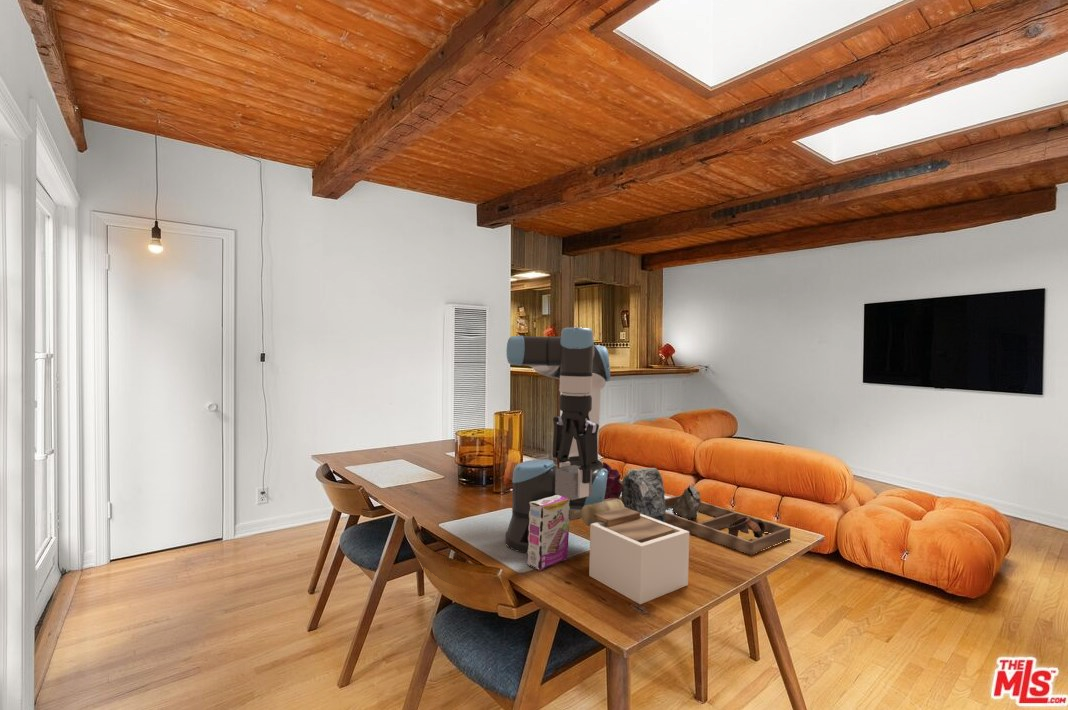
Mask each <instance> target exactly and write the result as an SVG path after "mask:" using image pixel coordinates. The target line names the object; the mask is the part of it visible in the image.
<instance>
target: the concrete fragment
mask: <svg viewBox="0 0 1068 710" xmlns="http://www.w3.org/2000/svg"><path fill="white" fill-rule="evenodd" d="M700 494H701V493H700V491H698V489H697V487H695V486H694V485H690V484H689V486H688V487H687V488H685V489H684V491H683V493H682V494H681V498H680V499H678V500H677V501H676V504H675V505H674V506H673V508H672V509H673V510H672V512H673V511H674V512H675V513H674V512H673V513H674V514H676V513H677V514H678V515H680V516H681V517H682V518H685V519H689V520H691V519H690V518H692V519H697V518H698V508H699V506H700V502H701V501H702V499H701V497H700V496H701V495H700ZM677 514H676V515H677ZM678 515H677V516H678ZM680 516H679V517H680Z"/></svg>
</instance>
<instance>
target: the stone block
mask: <svg viewBox="0 0 1068 710" xmlns="http://www.w3.org/2000/svg"><path fill="white" fill-rule="evenodd" d="M622 480H623V485H622V490H621V491H622V492H621V496H622V503H623V504H624V507H626V508H629V509H632V510H634V511H637V512H640V514H643V515H646V516H648V517H651V518H654V519H657V520H659V521H662V522H664V521H665V519H666V514H665V512H666V510H665V509H666V501H665V499H666V497H665V493H666V491H665V486H664V481H663V477H662V475H661V472H660V471H659V470H658V469H657V468H656V467H645V468H631V469H629V470H628V471H627V473H625V474H624V476H623V478H622Z"/></svg>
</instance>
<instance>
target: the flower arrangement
mask: <svg viewBox="0 0 1068 710" xmlns="http://www.w3.org/2000/svg"><path fill="white" fill-rule="evenodd" d="M556 463H557V464H556V466H558V465H559V462H558V461H557V460H556ZM602 463H603V468H605V469H606V470H607V471H608V476H607V483H606V491H605V497H604V500H605V499H610V498H612V499H613V498H618V499H619V497H620V496H622V491H621V490H622V483H620V482H619V481H620V479H621V476H622V475H621V474H620V473H619V470H618V469H614V468H613V469H612V467H611V465H610V464H608V463H607V462H603V461H602Z"/></svg>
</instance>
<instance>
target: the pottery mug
mask: <svg viewBox="0 0 1068 710" xmlns="http://www.w3.org/2000/svg"><path fill="white" fill-rule="evenodd" d="M760 519H761V518H758V519H757V520H754V521H751V519H750V517H745V518H741V519H739V520H737V521H734V522H733V524H734V525H732V524H729V525H728V526H727V527H726V528H727V530H728V534H731V535H734V536H737V537H739V532H740V533H743V534H747V535H748V534H749V533H750V532H749V528H748V526H749V527H751V528H750V529H751V530H752V533H753V537H754V538H756V539H757V538H760V537H763V536H764V535H763V534H765V533H764V530H765V524H764V523H763V521H762V520H763V519H761V520H760Z"/></svg>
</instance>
